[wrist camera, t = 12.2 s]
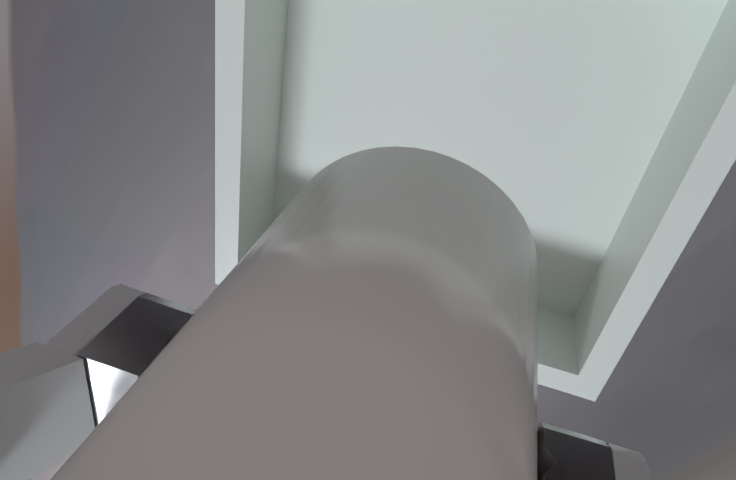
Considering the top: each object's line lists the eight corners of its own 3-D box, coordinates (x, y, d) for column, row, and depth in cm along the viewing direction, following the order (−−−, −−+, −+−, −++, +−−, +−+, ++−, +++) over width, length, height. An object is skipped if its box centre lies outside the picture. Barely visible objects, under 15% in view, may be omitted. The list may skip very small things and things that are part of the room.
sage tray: (798, -76, 15) (870, -73, 12) (587, 333, 24) (594, 401, 21) (277, -169, 18) (215, -189, 14) (256, 236, 26) (215, 283, 23)
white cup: (580, 190, 10) (709, 1039, 2) (492, 392, 13) (429, 1046, 6) (296, 115, 11) (-275, 588, 3) (277, 323, 14) (-39, 815, 6)
